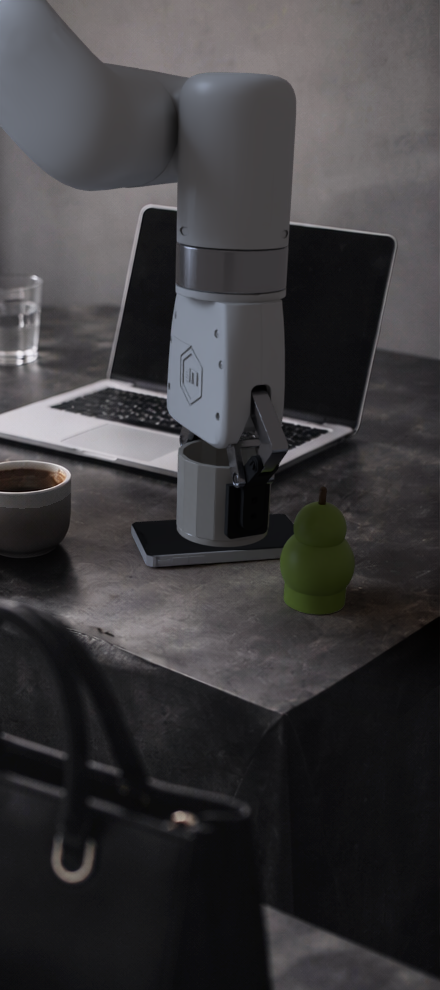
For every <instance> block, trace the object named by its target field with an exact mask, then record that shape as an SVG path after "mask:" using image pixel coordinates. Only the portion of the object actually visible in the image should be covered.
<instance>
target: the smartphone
mask: <svg viewBox="0 0 440 990" xmlns="http://www.w3.org/2000/svg"><path fill="white" fill-rule="evenodd" d="M176 521H177V518H176V519H163V520H161V519H160V520H145V521H144V520H143V521H141V520H140V521H134V522H132V523H131V530H130V531H131V532H130V534H131V536H132V539H133V541H134V542H135V544H136V547H137V549H138V551H139V553H140V555H141V557H142V560H143V561H144V564H145V566H148V567H151V568H159V567H174V566H187V565H201V564H203V565H204V564H215V563H216V564H217V563H231V562H245V561H258V560H274V559H280V556H281V552H282V549H283V547H284V545H285V544H286V542H287V541H288V539H289V538H290V537H291V536H292V535H294V522H292V521H291V519H290V518H289V517H288V516H287V515H286V514H285V513H269V527H268V532H267V535H266V536H265V537H264V538H263V539H261V540H260V541H258V542H255V543H252V544H249V545H244V546H237V547H215V546H207V545H202V544H198V543H195V542H192V541H190V540H188V539H186V538H184V537H182V536H181V535H180V534H179V533H178V531H177V524H176Z"/></svg>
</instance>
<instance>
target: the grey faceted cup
mask: <svg viewBox="0 0 440 990" xmlns="http://www.w3.org/2000/svg"><path fill="white" fill-rule="evenodd" d="M239 440H241V438H240V439H239ZM255 449H256V448H255ZM255 449H247V450H241V453H242V459H243V464H244V465H245V464H246V463H247V461H248V460H249V459H250V457H251V456H254V455H256V450H255ZM176 476H177V479H176V480H177V481H176V482H177V483H176V519H177V521H176V524H177V531H178V533H179V534H180V535H181V536H182V537H184V538H186V539H188V540H190V541H192V542H195V543H198V544H202V545H207V546H215V547H237V546H244V545H249V544H252V543H255V542H258V541H260V540H261V539H263V538H264V537H265V536H266V535H267V532H268V529H267V531H266V533H264V534H261V535H254V536H248V537H242V538H236V539H229V538H228V537H227V536H226V535H225V534H224V523H225V497H226V484H229V483H232V479H231V473H230V467H229V461H228V455H227V450H226V448H223V449H218V448H215V447H213V446H212V445H210V444H208V443H207V442H205V441H204V440H202V439H200V440H196V441H192V442H188V443H185V444H184V445H183V446H180V447H178V449H177V475H176ZM271 491H272V483H271V484H270V495H269V513H268V527H269V514H270V513H271V512H270V510H271V494H272V493H271Z"/></svg>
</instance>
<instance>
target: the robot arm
mask: <svg viewBox="0 0 440 990" xmlns="http://www.w3.org/2000/svg"><path fill="white" fill-rule="evenodd" d="M296 125H297V96H296V92H295V90H294V88H293V86H292V84H291V83H290V82H289V81H288V80H287V79H285V78H282V77H280V76H278V75H273V74H267V73H254V72H253V73H252V72H227V71H225V72H223V71H221V72H220V71H216V72H215V71H211V72H210V71H209V72H201V73H197V74H194V75H192V76H190V77H188V76H182V75H176V74H172V73H171V74H170V73H166V72H161V71H155V70H150V69H143V68H138V67H132V66H126V65H121V64H114V63H107V62H103V61H102V60H101V59H100V58H99V57H98V56H97V55H96V54H94V52H93V51H92V50H91V49H90V48H89V47H88V46H87V45H86V43H84V42H83V40H82V39H81V38H80V37H79V36H78V35H77V34H76V33H75V32H74V30H72V29H71V28H70V26H69V25H68V24H67V23H66V21H64V19H62V17H61V16H60V15H59V13H58V12H57V11H56V10H55V8H53V7H52V5H51V4H50V3H49V2H48V0H0V128H1V129H2V130H3V131H4V132H5V134H6V135H7V136H8V137H9V138H10V139H11V141H12V142H13V143H14V144H16V146H17V147H18V148H19V149H20V150H21V151H22V152H23V153H24V154H25V155H26V156H27V157H28V158H29V159H30V160H31V161H32V162H33V163H34V164H35V165H36V166H37V167H39V168H40V169H41V170H42V172H45V173H46V174H47V175H48V176H50V177H52V179H54V180H55V181H58V182H59V183H61V184H62V185H65V186H67V187H70V188H72V189H75V190H80V191H83V192H84V191H85V192H99V191H109V190H110V191H111V190H116V189H117V190H118V189H123V188H125V189H132V188H133V189H134V188H141V187H142V188H143V187H151V186H160V185H168V184H169V185H170V184H176V186H177V187H176V243H175V245H176V246H175V294H176V296H175V299H174V300H175V301H174V307H173V313H172V319H171V327H170V328H171V329H170V339H169V352H168V353H169V354H168V366H167V367H168V368H167V386H166V387H167V388H166V409H167V412H168V414H169V416H170V417H171V418H172V419H173V420H174V421H175V422H177V423H178V424H179V425H180V427H181V429H180V432H179V437H178V440H179V445H180V447H181V446H183V445H184V444H185V443H188V442H192V441H196V440H200V439H202V440H204V441H205V442H207V443H208V444H210V445H212V446H213V447H215V448H218V449H223V448H226V450H227V455H228V461H229V467H230V473H231V479H232V483H229V484H226V497H225V523H224V534H225V535H226V536H227V537H228V538H229V539H236V538H242V537H248V536H254V535H261V534H264V533H266V531H267V529H268V513H269V514H270V512H269V495H270V484H271V485H272V484H273V483H274V481H275V476H276V475H275V474H276V472H277V471H279V468H280V465H281V462H282V460H283V459H284V458H285V457H286V455H287V454H288V452H289V442H288V440H287V438H286V435H285V432H284V430H283V419H284V408H285V390H286V389H285V387H286V347H285V346H286V344H285V340H286V339H285V324H284V323H285V322H284V320H285V319H284V309H283V307H284V306H283V300H282V299H284V298H285V297H286V296H287V278H288V261H289V242H290V241H289V239H290V226H291V225H290V224H291V210H292V209H291V208H292V191H293V179H294V178H293V176H294V160H295V159H294V158H295V143H296V142H295V141H296ZM243 433H249V434H251V435H252V436H254V437H251V438H243V439H241V437H242V436H243ZM239 439H240V440H239ZM255 448H256V449H255ZM247 449H255V450H256V455H254V456H251V457H250V459H249V460H248V461H247V463H246V464H245V465H244V464H243V459H242V453H241V450H247ZM270 496H271V495H270Z"/></svg>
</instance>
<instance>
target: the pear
mask: <svg viewBox="0 0 440 990" xmlns="http://www.w3.org/2000/svg"><path fill="white" fill-rule="evenodd" d="M327 497H328V488H327V487H326V486H323V485H322V486H320V488H319V489H318V501H313V502H310V503H307V504H306V505H304V506H303V507H301V508H300V510H299V511H298V513H297V514H296V516H295V518H294V520H293V521H294V522H293V524H294V535H292V536H291V537H290V538H289V539H288V541H287V542H286V544H285V545H284V547H283V549H282V552H281V556H280V558H279V570H280V575H281V578H282V580H283V582H284V584H283V602H284V604H286V606H287V607H289V608H290V609H292V610H294V611H297V612H299V613H303V614H307V615H318V616H321V615H323V616H324V615H329V614H335V613H338V612H339V611H341V610H342V609H343V608H344V607H345V605H346V597H347V588H348V586H349V585H350V583H351V581H352V579H353V576H354V574H355V568H356V560H355V555H354V551H353V548H352V546H351V545H350V543H349V541H348V540H347V538H346V537H347V532H348V524H347V520H346V517H345V516H344V513H343V512H342V511H341V510H340V509H339V508H338V507H337V506H336V505H334V504H332V503H331V502H327Z"/></svg>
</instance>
